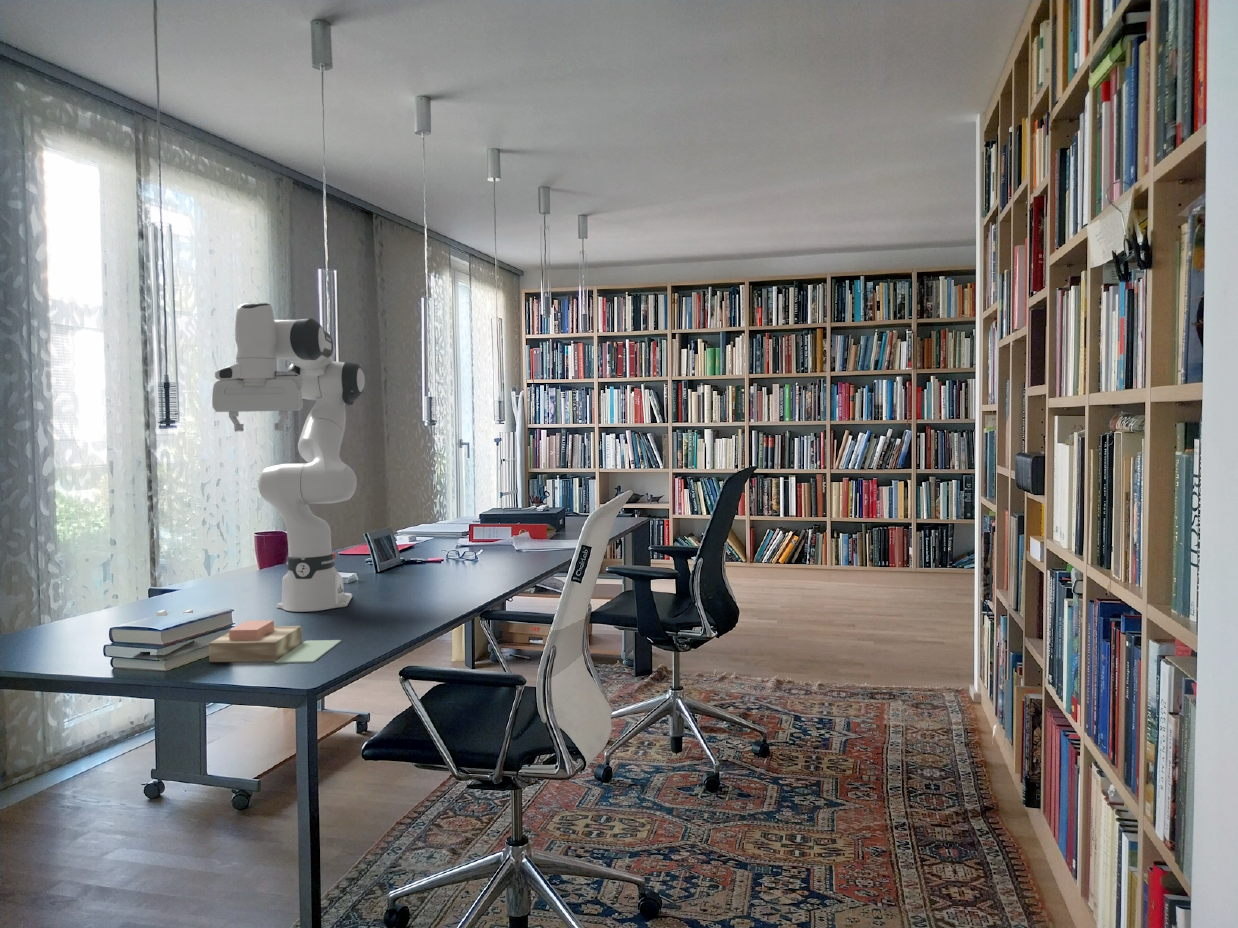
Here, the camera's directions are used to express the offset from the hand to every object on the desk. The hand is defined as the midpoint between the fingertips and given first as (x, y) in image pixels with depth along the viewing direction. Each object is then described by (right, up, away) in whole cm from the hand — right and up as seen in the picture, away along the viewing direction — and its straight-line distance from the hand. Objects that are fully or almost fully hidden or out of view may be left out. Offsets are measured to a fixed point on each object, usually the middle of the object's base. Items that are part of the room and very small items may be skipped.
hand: (259, 431), depth 212 cm
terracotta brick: (+5, -45, -15) cm, 47 cm away
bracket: (-17, -49, -10) cm, 53 cm away
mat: (+17, -49, -15) cm, 54 cm away
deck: (+6, -49, -15) cm, 51 cm away
